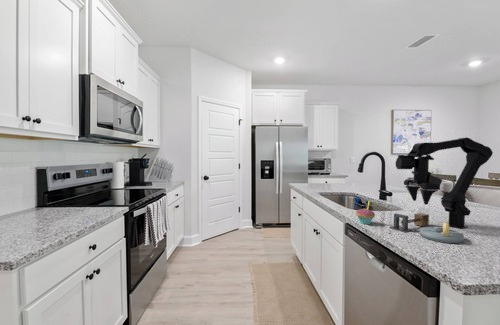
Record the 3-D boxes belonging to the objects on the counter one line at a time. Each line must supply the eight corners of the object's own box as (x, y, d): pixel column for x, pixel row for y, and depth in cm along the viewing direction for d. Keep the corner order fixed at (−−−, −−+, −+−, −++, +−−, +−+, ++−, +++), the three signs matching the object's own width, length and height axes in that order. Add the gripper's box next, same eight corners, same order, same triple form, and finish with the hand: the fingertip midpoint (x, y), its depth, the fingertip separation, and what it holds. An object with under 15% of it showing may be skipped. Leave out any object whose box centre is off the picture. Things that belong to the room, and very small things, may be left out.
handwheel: (425, 240, 96) (425, 222, 96) (416, 230, 109) (416, 214, 109) (470, 245, 91) (470, 226, 90) (455, 233, 103) (455, 217, 103)
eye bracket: (396, 226, 115) (397, 212, 115) (412, 230, 109) (412, 216, 108) (389, 228, 113) (389, 213, 113) (404, 232, 106) (405, 217, 106)
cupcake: (373, 221, 124) (373, 198, 123) (376, 226, 116) (376, 201, 115) (354, 220, 126) (355, 197, 126) (356, 224, 118) (356, 200, 118)
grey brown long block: (420, 223, 120) (420, 213, 119) (428, 225, 116) (428, 214, 116) (398, 227, 113) (398, 216, 113) (406, 229, 110) (406, 218, 109)
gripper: (453, 171, 106) (452, 207, 106) (426, 168, 124) (426, 199, 125) (426, 170, 107) (425, 206, 107) (403, 168, 125) (402, 198, 126)
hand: (420, 202), depth 116 cm, fingers open, 9 cm apart
